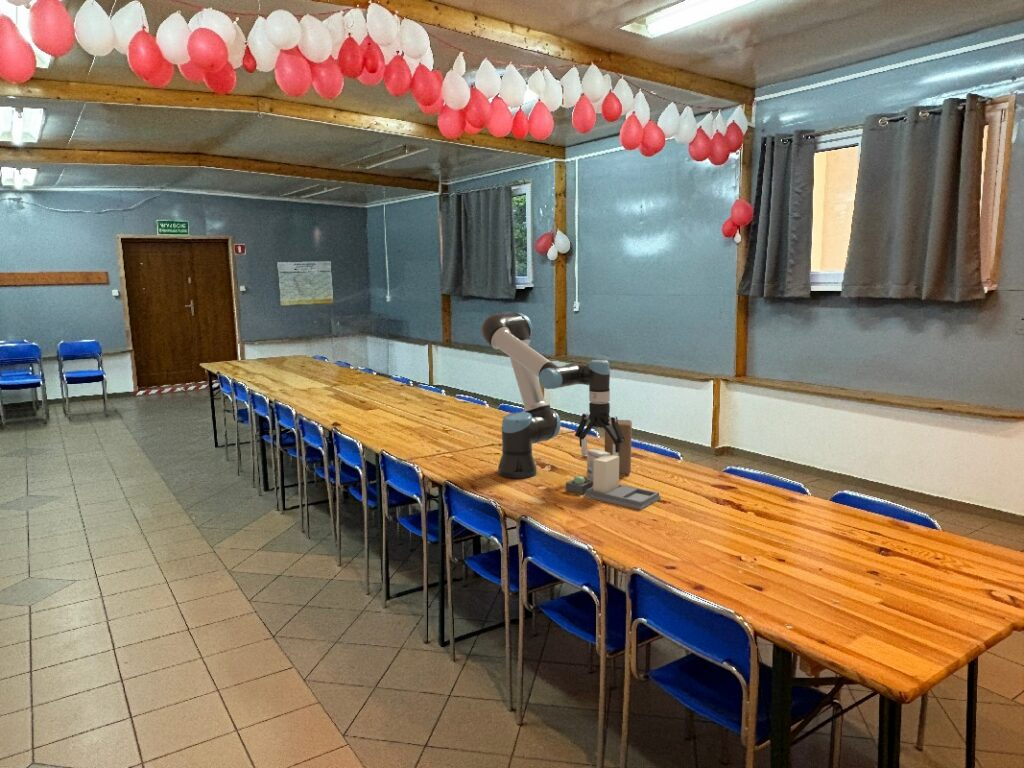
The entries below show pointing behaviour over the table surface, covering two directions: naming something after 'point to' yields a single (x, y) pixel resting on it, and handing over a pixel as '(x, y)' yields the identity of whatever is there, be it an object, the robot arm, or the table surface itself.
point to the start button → (579, 480)
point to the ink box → (591, 456)
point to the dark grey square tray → (578, 486)
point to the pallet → (626, 496)
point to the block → (621, 446)
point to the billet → (606, 473)
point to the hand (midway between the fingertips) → (599, 458)
